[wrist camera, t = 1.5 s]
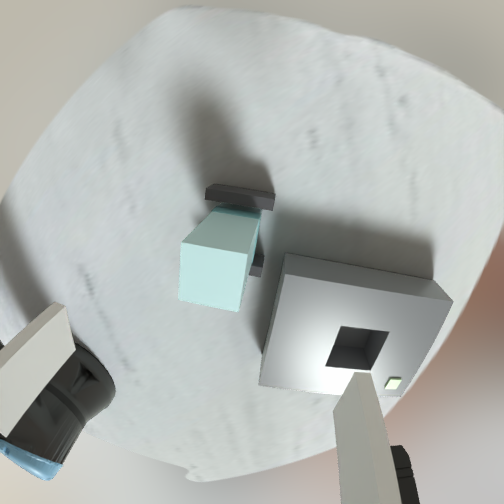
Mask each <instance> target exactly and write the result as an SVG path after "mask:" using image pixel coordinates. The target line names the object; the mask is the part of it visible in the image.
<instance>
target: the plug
mask: <svg viewBox="0 0 504 504" xmlns="http://www.w3.org/2000/svg"><path fill="white" fill-rule="evenodd" d="M261 214H262V209H259V208H254V207H248V206H242V205H236V204H230V203H223V202H221V203H220V204H219V205H218V206H216V207H215V208H214V209H213V210H212V212H211V213H210V214H209V215H208V216H207V217H206V218H205V219H204V220H203V221H202V222H201V223H200V224H199V225H198V226H197V227H196V228H195V229H194V230H193V231H192V232H191V233H190V234H189V235H188V236H187V237H186V238H185V239H184V240H183V241H182V242H181V252H180V271H179V295H178V300H182V301H186V302H191V303H195V304H200V305H205V306H210V307H214V308H219V309H224V310H229V311H234V312H239V309H240V305H241V301H242V298H243V294H244V290H245V286H246V283H247V279H248V275H249V271H250V268H251V264H252V262H253V259H254V255H255V249H256V244H257V238H258V232H259V226H260V220H261Z"/></svg>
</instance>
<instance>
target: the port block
mask: <svg viewBox="0 0 504 504" xmlns="http://www.w3.org/2000/svg"><path fill="white" fill-rule="evenodd" d="M452 304H453V301H452V299H451V298H450V297H449V296H448V295H447V294H446V293H445V292H444V290H443V289H442V288H441V287H440V286H439V285H438V284H437V283H436V282H435V281H434V280H429V279H424V278H418V277H413V276H408V275H403V274H397V273H392V272H386V271H381V270H376V269H370V268H365V267H360V266H354V265H349V264H343V263H338V262H333V261H327V260H322V259H316V258H311V257H305V256H300V255H294V254H289V253H285V256H284V261H283V266H282V271H281V275H280V280H279V284H278V289H277V294H276V298H275V303H274V307H273V311H272V316H271V320H270V325H269V329H268V333H267V337H266V342H265V346H264V350H263V354H262V360H261V368H260V376H259V384H258V385H260V386H266V387H273V388H280V389H287V390H295V391H304V392H313V393H324V394H336V395H342V394H343V393H344V391H345V389H346V387H347V385H348V383H349V382H350V380H351V378H352V376H353V374H354V372H364V373H371V376H372V379H373V383H374V386H375V390H376V393H377V396H378V397H401V395H402V394H403V392H404V391H405V389H406V388H407V386H408V385H409V383H410V382H411V380H412V379H413V377H414V375H415V374H416V372H417V370H418V369H419V367H420V366H421V364H422V362H423V360H424V359H425V357H426V355H427V353H428V352H429V350H430V348H431V346H432V344H433V343H434V341H435V339H436V337H437V335H438V333H439V331H440V329H441V327H442V325H443V323H444V321H445V319H446V317H447V315H448V313H449V311H450V308H451V306H452Z"/></svg>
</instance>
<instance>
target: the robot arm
mask: <svg viewBox="0 0 504 504" xmlns="http://www.w3.org/2000/svg"><path fill="white" fill-rule="evenodd" d="M114 396H115V386H114V383H113V381H112V379H111V377H110V375H109V374H108V372H107V371H106V370H105V368H104V367H103V366H102V365H101V364H100V362H99V361H98V360H97V359H96V358H94V357H93V356H92V355H91V354H90V353H89V352H87V351H86V350H85V349H83V348H82V347H80V346H79V345H77V344H75V343H74V341H73V337H72V333H71V329H70V324H69V320H68V315H67V310H66V306H64V305H62V304H59V303H57V302H54V303H53V304H51V305H50V306H49V307H48V308H47V309H45V310H44V311H43V312H42V313H41V314H40V315H38V316H37V317H36V318H35V319H34V320H33V321H32V322H31V323H29V324H28V325H27V326H26V327H25V328H24V329H23V330H22V331H21V332H19V333H18V334H17V335H16V336H15V337H14V338H13V339H12V340H11V341H10V342H9V343H8V344H7V345H6V346H4V345H3V343H2V342H1V340H0V452H1V453H2V454H4V455H5V456H6V457H7V458H9V459H10V460H11V461H13V462H14V463H16V464H17V465H18V466H20V467H21V468H23V469H25V470H26V471H28V472H29V473H31V474H32V475H34V476H36V477H38V478H40V479H42V480H51V479H53V478H54V476H55V475H56V474H57V472H58V471H59V469H60V468H61V467H62V466H63V462H64V461H65V459H66V457H67V455H68V453H69V452H70V450H71V448H72V447H73V445H74V443H75V441H76V440H77V438H78V436H79V434H80V433H81V431H82V429H83V428H84V426H85V424H86V423H87V422H88V421H89V420H90V419H92V418H93V417H94V416H96V415H97V414H98V413H100V412H101V411H102V410H104V409H105V408H107V407H108V406H109V405H110V403H111V401H112V400H113V398H114ZM333 416H334V425H335V434H336V444H337V455H338V467H339V478H340V479H339V480H340V494H341V504H420V502H419V497H418V492H417V488H416V483H415V479H414V477H413V470H412V469H411V462H410V458H409V455H408V454H407V452H406V451H405V449H404V448H403V446H402V445H398V446H390V444H389V440H388V435H387V431H386V427H385V423H384V419H383V415H382V412H381V408H380V404H379V400H378V397H377V393H376V390H375V386H374V383H373V379H372V376H371V373H364V372H354V374H353V376H352V378H351V380H350V382H349V383H348V385H347V387H346V389H345V391H344V393H343V394H342V396H341V398H340V400H339V401H338V403H337V405H336V407H335V408H334V410H333Z"/></svg>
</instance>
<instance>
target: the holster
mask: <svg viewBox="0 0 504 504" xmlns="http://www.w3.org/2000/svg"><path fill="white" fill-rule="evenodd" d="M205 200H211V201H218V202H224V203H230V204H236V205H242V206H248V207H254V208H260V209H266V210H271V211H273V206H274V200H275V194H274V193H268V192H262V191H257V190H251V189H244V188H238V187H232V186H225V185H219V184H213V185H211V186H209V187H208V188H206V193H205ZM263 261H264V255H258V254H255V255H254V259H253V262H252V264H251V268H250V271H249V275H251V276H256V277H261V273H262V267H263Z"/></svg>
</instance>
